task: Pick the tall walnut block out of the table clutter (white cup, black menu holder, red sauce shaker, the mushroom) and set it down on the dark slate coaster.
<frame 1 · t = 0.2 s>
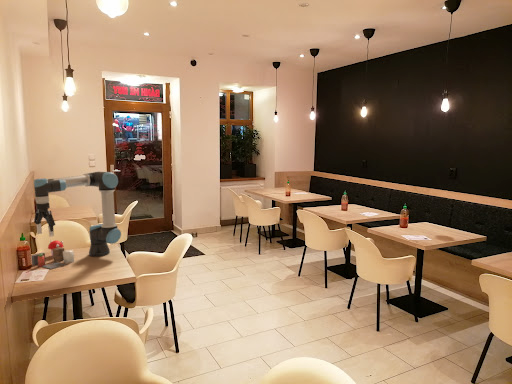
hand: (45, 235, 249), 28 cm above the table, fingers open, 13 cm apart
slate coaster: (53, 265, 273), on the table
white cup: (68, 261, 282), on the table
walnut block: (59, 260, 286), on the table
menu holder: (38, 263, 279), on the table
mushroom: (56, 255, 298), on the table
sauce shaker: (41, 265, 274), on the table
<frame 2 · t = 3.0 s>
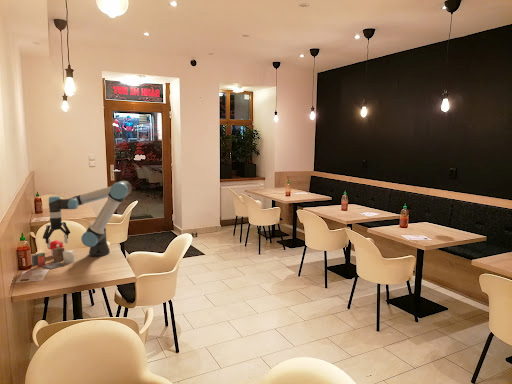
hand: (57, 245, 284), 11 cm above the table, fingers open, 13 cm apart
nothing on the table moved.
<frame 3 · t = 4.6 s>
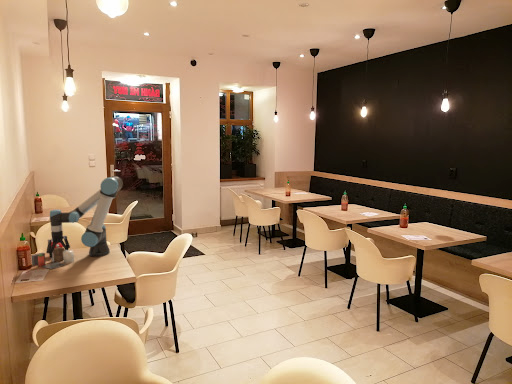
hand: (59, 259, 286), 0 cm above the table, fingers open, 10 cm apart
nothing on the table moved.
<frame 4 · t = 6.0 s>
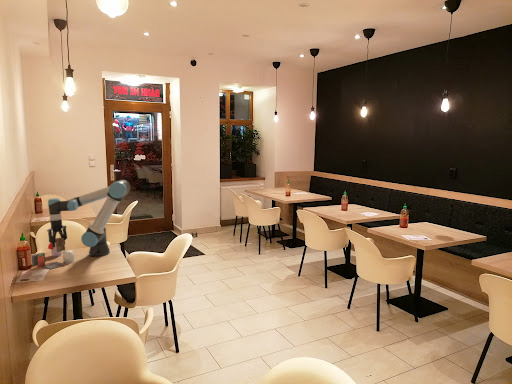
hand: (59, 249, 285), 8 cm above the table, fingers closed on walnut block, 5 cm apart
walnut block: (59, 250, 285), point 7 cm above the table, touching gripper
everything else where it was.
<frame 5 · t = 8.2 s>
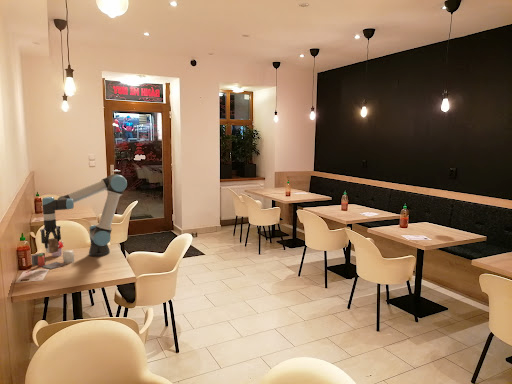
hand: (52, 251, 271), 11 cm above the table, fingers closed on walnut block, 5 cm apart
walnut block: (52, 251, 271), point 10 cm above the table, touching gripper
everything else where it was.
when the fingers open (1 cm above the table, at t = 10.5 s): walnut block stays where it is, resting on slate coaster.
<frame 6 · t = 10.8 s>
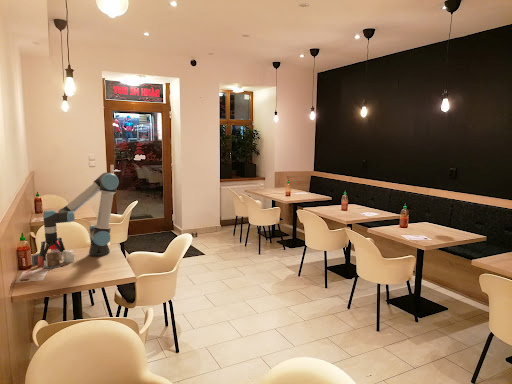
hand: (53, 262, 273), 2 cm above the table, fingers open, 10 cm apart
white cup: (68, 261, 282), on the table, touching gripper
walnut block: (53, 265, 273), point 1 cm above the table, touching slate coaster
everything else where it was.
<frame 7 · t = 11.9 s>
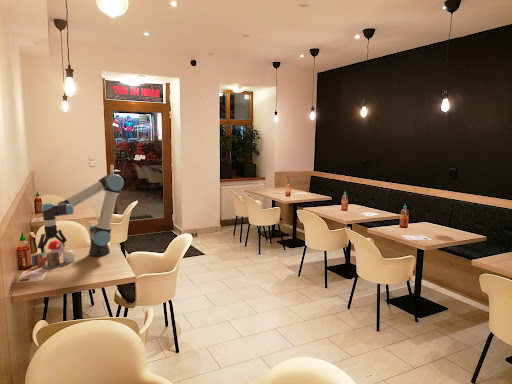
hand: (53, 254, 272), 8 cm above the table, fingers open, 13 cm apart
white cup: (68, 261, 282), on the table
everything else where it was.
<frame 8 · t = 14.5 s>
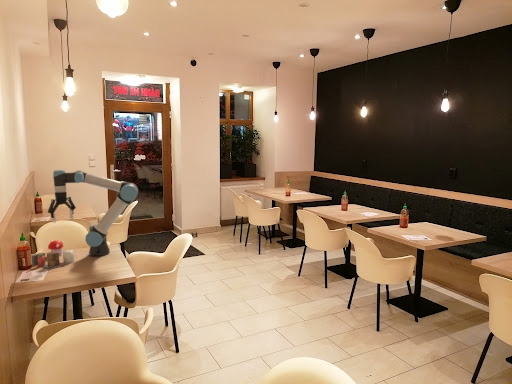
hand: (63, 220, 279), 31 cm above the table, fingers open, 13 cm apart
nothing on the table moved.
at the end: walnut block inside the target area on the slate coaster (0.1 cm from its centre), point 0.6 cm above the slate coaster's base; walnut block tilted 0°; the gripper is holding nothing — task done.
